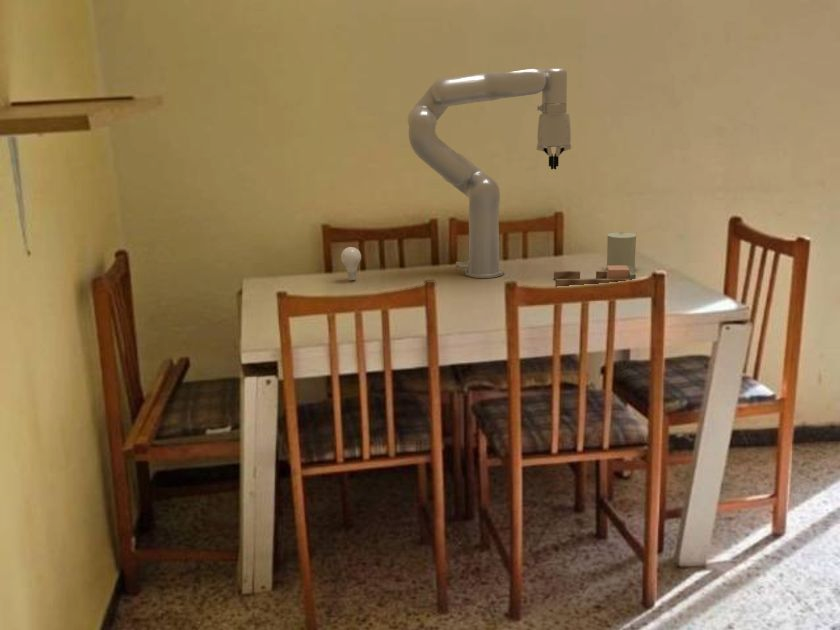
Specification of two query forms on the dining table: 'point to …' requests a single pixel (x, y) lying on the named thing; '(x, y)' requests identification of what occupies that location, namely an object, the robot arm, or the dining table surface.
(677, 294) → the dining table surface
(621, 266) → the block
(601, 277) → the channel
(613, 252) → the can
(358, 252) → the lightbulb
